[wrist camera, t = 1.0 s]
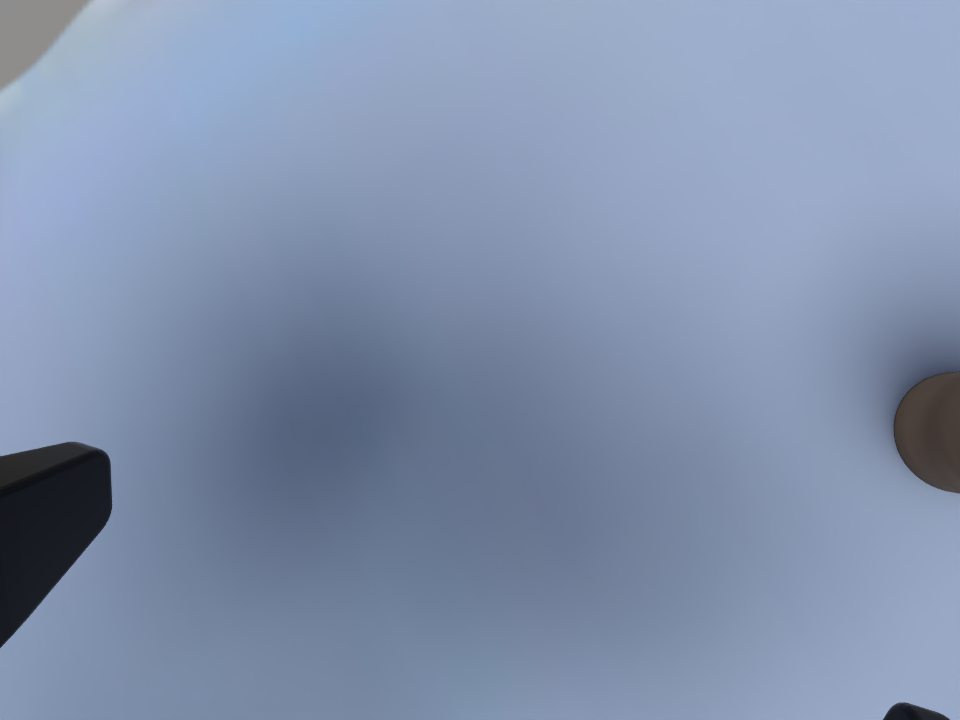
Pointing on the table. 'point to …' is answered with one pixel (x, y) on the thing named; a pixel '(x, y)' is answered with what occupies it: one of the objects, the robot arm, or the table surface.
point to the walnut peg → (931, 431)
